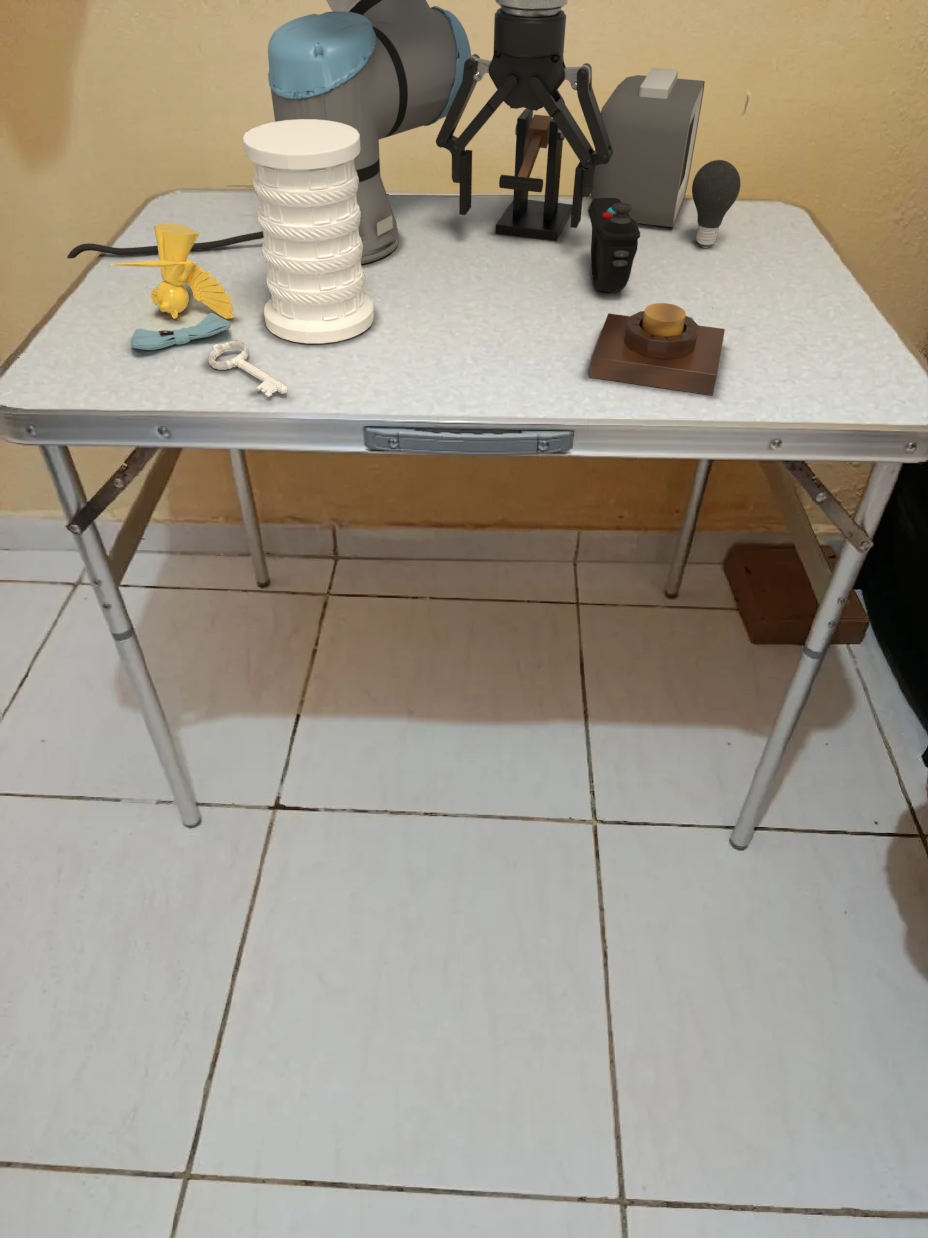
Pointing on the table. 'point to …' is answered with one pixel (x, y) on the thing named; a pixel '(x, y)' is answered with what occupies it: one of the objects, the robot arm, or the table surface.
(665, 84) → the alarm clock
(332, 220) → the decorative container
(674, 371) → the switch block
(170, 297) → the figurine
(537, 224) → the switch bracket
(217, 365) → the key
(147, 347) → the bow tie
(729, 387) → the table surface
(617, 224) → the controller
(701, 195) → the light bulb
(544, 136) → the lever
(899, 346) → the table surface
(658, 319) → the power button
